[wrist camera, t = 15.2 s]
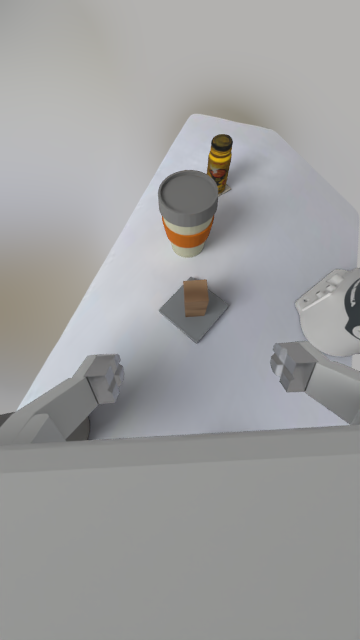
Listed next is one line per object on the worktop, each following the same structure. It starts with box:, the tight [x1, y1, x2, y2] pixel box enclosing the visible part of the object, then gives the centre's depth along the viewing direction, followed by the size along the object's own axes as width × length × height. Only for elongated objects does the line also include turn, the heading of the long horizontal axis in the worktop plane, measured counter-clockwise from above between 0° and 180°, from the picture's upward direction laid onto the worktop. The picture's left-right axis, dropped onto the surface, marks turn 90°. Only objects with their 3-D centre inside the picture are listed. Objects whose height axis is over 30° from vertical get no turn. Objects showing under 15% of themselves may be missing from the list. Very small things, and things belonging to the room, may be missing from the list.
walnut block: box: [183, 280, 209, 317], centre depth 38 cm, size 4×4×9 cm
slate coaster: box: [159, 277, 229, 344], centre depth 43 cm, size 12×12×2 cm
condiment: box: [207, 134, 233, 196], centre depth 50 cm, size 7×8×12 cm
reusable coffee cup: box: [158, 170, 218, 258], centre depth 42 cm, size 12×13×15 cm
